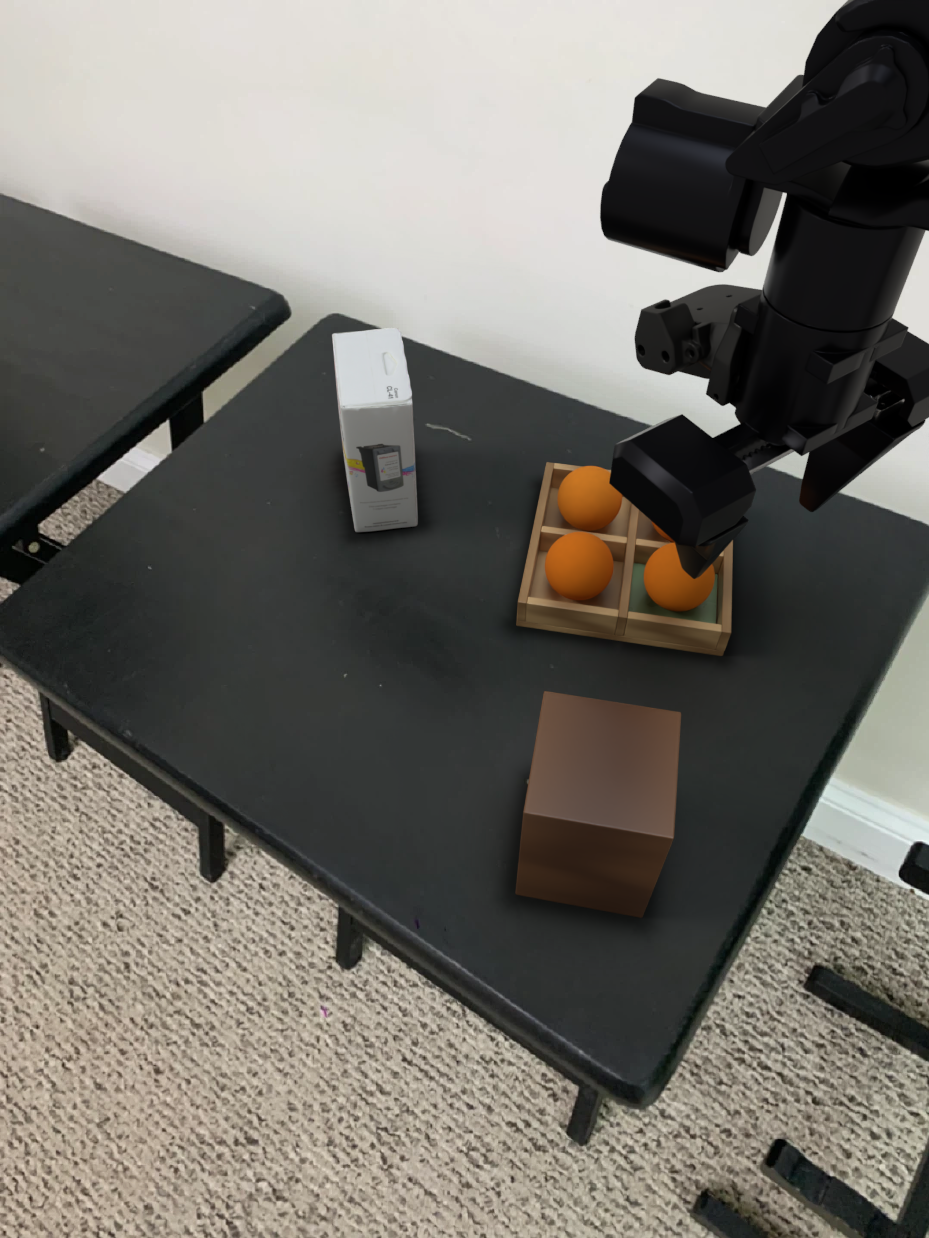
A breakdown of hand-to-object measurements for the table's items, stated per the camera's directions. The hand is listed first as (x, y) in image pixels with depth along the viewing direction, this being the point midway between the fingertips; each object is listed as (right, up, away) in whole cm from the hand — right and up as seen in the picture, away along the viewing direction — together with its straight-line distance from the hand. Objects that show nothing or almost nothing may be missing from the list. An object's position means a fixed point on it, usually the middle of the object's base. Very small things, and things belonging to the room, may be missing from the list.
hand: (750, 539), depth 53 cm
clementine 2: (-9, -2, +11) cm, 14 cm away
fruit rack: (-5, -1, +13) cm, 14 cm away
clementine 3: (-2, -3, +10) cm, 11 cm away
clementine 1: (-7, +3, +15) cm, 17 cm away
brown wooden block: (-10, -18, 0) cm, 20 cm away
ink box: (-23, +5, +18) cm, 29 cm away
